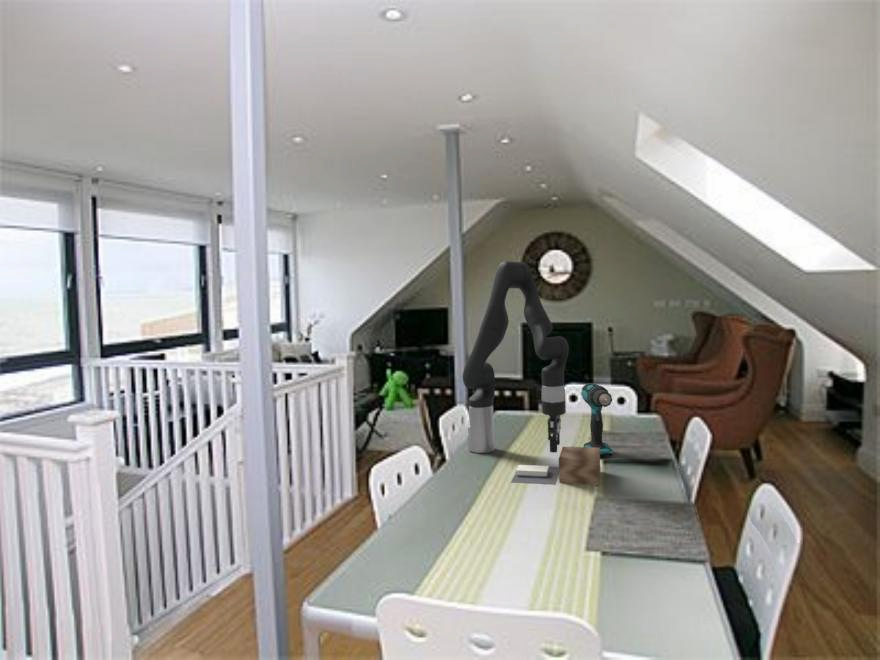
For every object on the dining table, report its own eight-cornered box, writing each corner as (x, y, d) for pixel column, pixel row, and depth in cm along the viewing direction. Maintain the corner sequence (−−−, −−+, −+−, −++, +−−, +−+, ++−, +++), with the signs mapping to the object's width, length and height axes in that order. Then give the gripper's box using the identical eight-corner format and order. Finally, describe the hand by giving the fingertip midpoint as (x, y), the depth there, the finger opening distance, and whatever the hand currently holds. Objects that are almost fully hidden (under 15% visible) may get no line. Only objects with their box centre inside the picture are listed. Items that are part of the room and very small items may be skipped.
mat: (510, 483, 196) (510, 482, 196) (519, 466, 214) (519, 465, 214) (555, 485, 193) (555, 484, 193) (560, 468, 210) (560, 466, 210)
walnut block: (559, 483, 194) (558, 458, 194) (563, 469, 208) (562, 446, 207) (599, 485, 191) (598, 460, 190) (600, 471, 204) (599, 447, 204)
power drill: (621, 464, 210) (620, 391, 208) (595, 465, 211) (593, 392, 209) (603, 443, 236) (601, 379, 234) (579, 444, 237) (577, 380, 235)
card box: (546, 471, 199) (546, 477, 199) (548, 466, 205) (548, 471, 205) (515, 470, 202) (515, 476, 202) (518, 464, 208) (518, 470, 208)
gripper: (544, 394, 207) (545, 442, 208) (538, 403, 193) (540, 454, 195) (567, 394, 205) (568, 442, 206) (563, 403, 191) (564, 455, 193)
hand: (555, 448), depth 201 cm, fingers open, 8 cm apart
